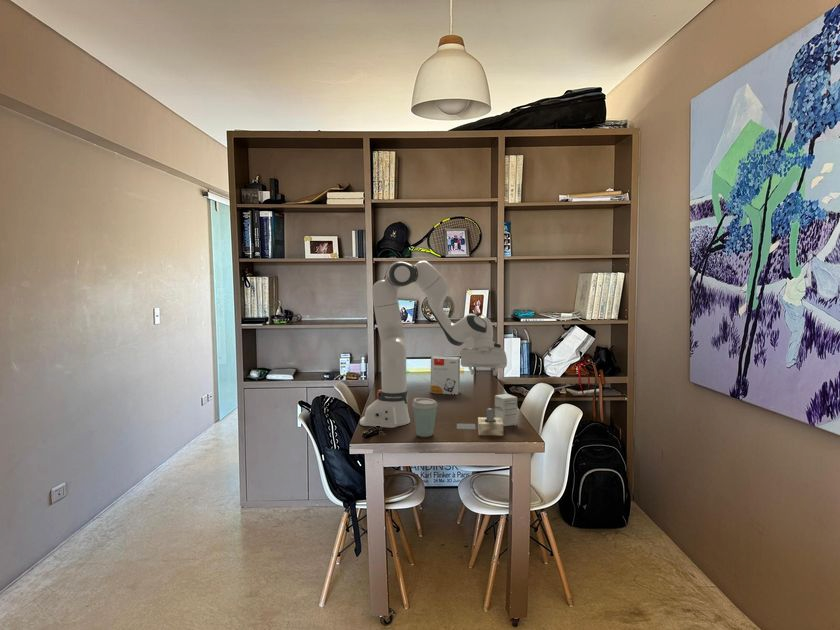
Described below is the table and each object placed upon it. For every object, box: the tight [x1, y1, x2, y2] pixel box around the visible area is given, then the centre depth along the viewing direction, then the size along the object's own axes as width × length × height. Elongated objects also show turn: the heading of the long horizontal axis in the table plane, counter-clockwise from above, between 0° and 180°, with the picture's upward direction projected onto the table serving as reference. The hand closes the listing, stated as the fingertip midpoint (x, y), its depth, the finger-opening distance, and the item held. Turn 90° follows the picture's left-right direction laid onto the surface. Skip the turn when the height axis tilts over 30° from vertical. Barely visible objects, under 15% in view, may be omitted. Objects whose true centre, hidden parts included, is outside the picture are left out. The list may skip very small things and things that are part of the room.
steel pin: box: [486, 407, 495, 422], centre depth 222 cm, size 3×3×10 cm
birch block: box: [477, 416, 504, 437], centre depth 222 cm, size 10×10×5 cm
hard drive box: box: [430, 355, 461, 396], centre depth 296 cm, size 16×8×20 cm, turn 76°
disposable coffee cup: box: [411, 397, 438, 438], centre depth 218 cm, size 11×11×15 cm
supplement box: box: [494, 393, 518, 427], centre depth 235 cm, size 7×7×13 cm
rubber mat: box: [456, 423, 476, 430], centre depth 230 cm, size 8×8×1 cm
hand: (483, 374), depth 230 cm, fingers open, 8 cm apart
